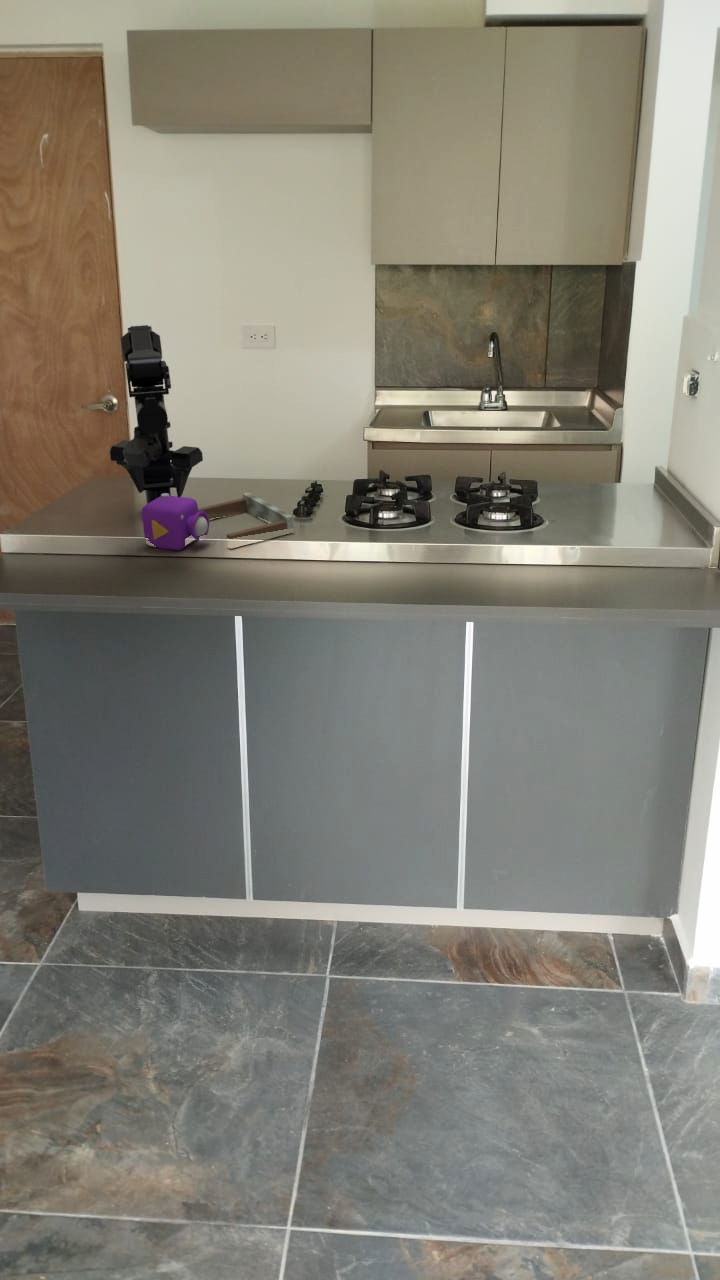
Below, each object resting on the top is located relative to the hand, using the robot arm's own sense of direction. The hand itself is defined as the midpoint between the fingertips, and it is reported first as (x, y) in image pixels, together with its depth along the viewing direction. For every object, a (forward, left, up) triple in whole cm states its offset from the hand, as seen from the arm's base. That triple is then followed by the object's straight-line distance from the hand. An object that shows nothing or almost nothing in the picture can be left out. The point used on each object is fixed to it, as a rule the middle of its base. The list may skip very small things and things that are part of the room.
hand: (160, 494), depth 222 cm
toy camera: (-3, +5, -13) cm, 14 cm away
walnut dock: (-3, +20, -13) cm, 24 cm away
